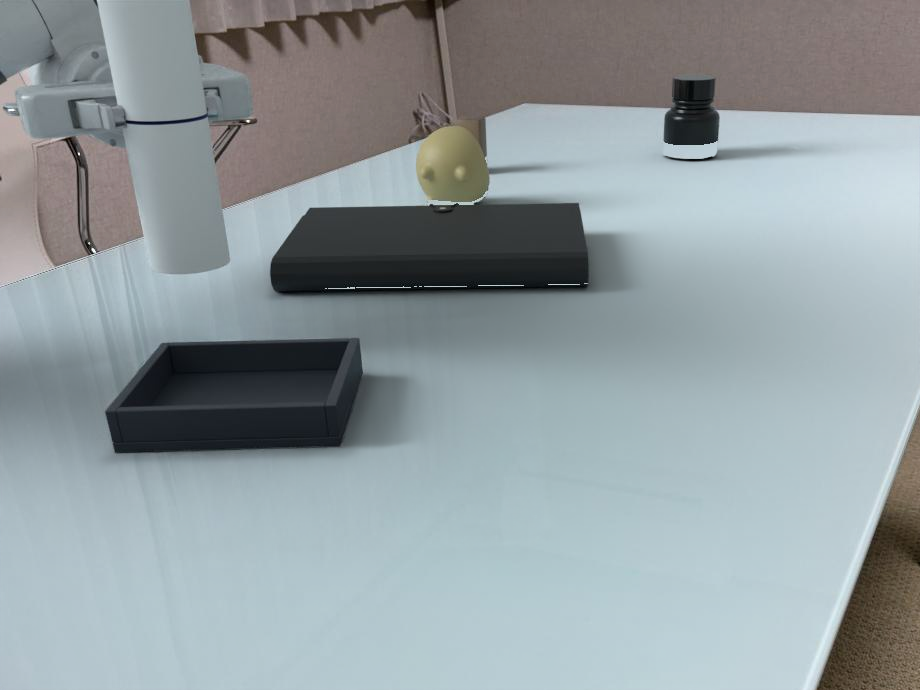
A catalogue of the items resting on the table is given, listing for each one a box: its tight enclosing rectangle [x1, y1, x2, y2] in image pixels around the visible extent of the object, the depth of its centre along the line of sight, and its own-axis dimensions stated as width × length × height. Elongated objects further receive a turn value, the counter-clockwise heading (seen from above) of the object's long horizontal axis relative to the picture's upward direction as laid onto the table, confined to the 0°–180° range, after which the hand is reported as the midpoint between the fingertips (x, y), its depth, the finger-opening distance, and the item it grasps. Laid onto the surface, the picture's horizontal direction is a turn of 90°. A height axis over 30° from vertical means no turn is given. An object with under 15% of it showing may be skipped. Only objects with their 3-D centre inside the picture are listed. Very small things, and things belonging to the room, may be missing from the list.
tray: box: [104, 337, 364, 453], centre depth 83 cm, size 17×15×3 cm
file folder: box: [269, 202, 590, 293], centre depth 119 cm, size 33×4×24 cm
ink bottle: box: [662, 74, 721, 145], centre depth 170 cm, size 10×9×12 cm
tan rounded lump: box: [415, 125, 491, 202], centre depth 141 cm, size 10×12×11 cm
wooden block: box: [454, 115, 488, 157], centre depth 163 cm, size 4×4×8 cm
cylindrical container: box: [97, 0, 231, 275], centre depth 90 cm, size 7×7×25 cm
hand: (167, 113), depth 89 cm, fingers closed on cylindrical container, 7 cm apart
